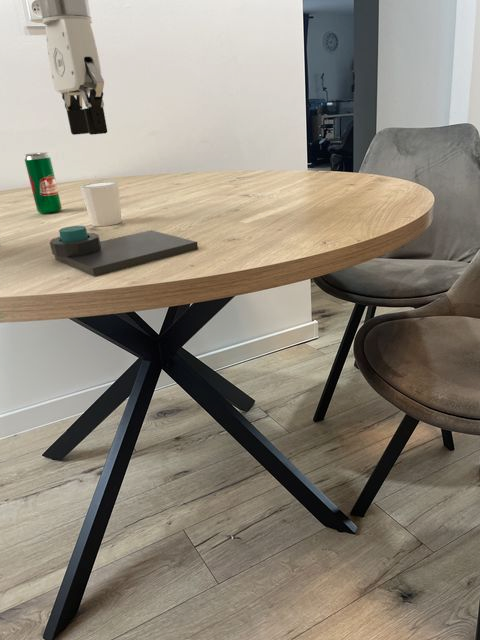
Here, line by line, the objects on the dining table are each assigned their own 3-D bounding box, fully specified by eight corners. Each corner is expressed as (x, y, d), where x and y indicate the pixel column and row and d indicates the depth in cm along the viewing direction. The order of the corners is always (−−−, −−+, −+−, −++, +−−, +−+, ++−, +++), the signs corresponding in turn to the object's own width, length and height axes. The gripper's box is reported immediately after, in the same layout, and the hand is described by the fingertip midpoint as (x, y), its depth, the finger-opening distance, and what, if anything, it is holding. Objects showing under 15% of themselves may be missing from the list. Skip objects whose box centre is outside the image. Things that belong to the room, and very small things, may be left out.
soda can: (47, 215, 108) (32, 154, 103) (32, 213, 110) (18, 154, 105) (67, 210, 112) (54, 151, 106) (52, 209, 114) (39, 151, 109)
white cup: (109, 217, 101) (102, 180, 97) (132, 220, 97) (126, 182, 94) (79, 225, 96) (71, 186, 93) (103, 228, 92) (95, 187, 89)
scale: (89, 278, 64) (83, 255, 63) (48, 260, 74) (43, 239, 72) (198, 249, 74) (195, 229, 73) (149, 236, 83) (146, 218, 82)
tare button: (67, 245, 70) (64, 232, 69) (57, 241, 72) (54, 229, 72) (92, 240, 72) (90, 227, 71) (81, 236, 74) (79, 224, 74)
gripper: (23, 20, 85) (49, 135, 93) (64, 1, 74) (90, 135, 81) (67, 22, 90) (88, 132, 98) (112, 4, 78) (132, 131, 86)
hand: (89, 132), depth 89 cm, fingers open, 6 cm apart
